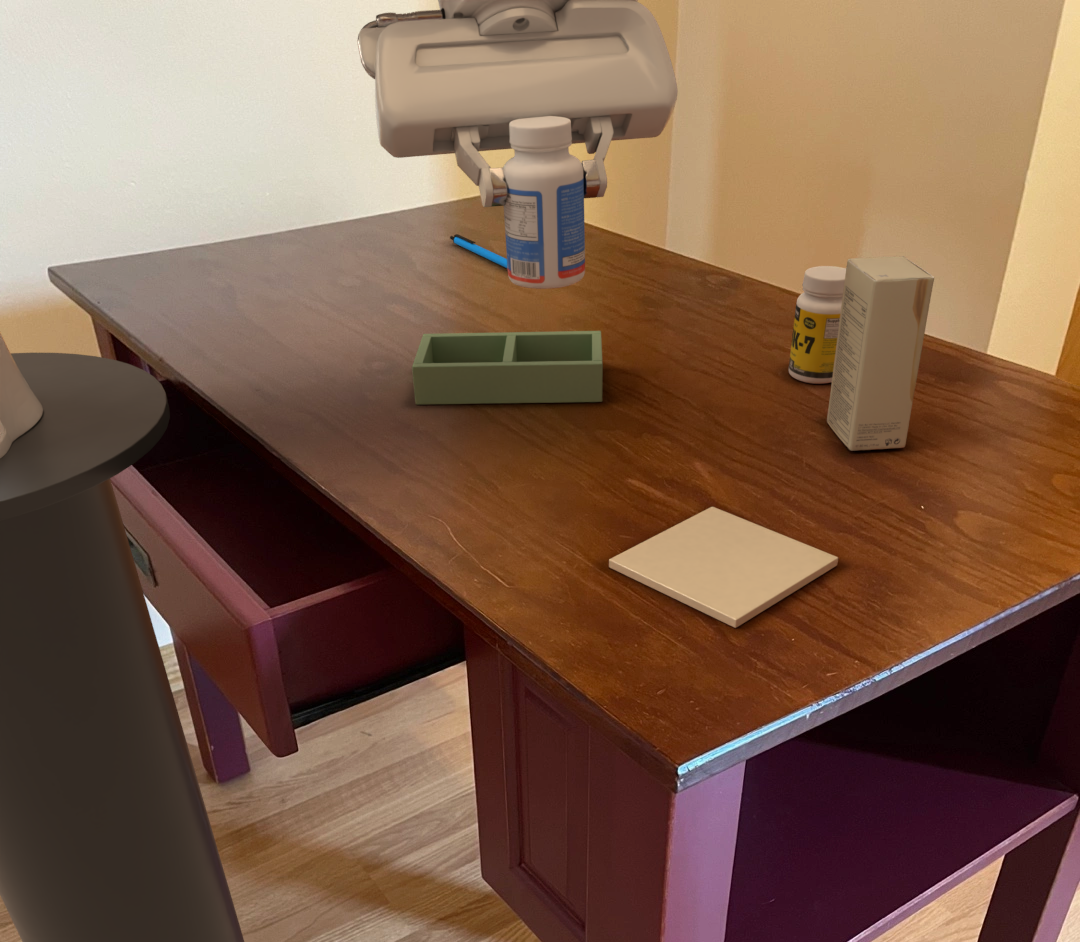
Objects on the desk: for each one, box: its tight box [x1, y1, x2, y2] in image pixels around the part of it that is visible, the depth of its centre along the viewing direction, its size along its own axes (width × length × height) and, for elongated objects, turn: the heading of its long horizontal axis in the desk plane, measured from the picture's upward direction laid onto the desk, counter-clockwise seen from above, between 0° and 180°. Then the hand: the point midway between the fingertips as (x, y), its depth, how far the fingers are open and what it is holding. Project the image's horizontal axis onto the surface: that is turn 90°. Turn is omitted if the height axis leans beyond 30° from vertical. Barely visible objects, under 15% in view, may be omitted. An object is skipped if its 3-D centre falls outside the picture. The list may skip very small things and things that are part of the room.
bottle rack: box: [411, 330, 604, 406], centre depth 91 cm, size 8×15×3 cm, turn 88°
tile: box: [608, 506, 839, 629], centre depth 67 cm, size 10×10×1 cm
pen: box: [449, 233, 507, 269], centre depth 123 cm, size 1×19×1 cm, turn 31°
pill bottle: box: [502, 116, 586, 290], centre depth 72 cm, size 6×5×10 cm
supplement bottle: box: [788, 265, 846, 385], centre depth 90 cm, size 5×5×8 cm
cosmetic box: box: [826, 255, 935, 452], centre depth 79 cm, size 6×4×12 cm
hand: (546, 197), depth 72 cm, fingers closed on pill bottle, 5 cm apart
